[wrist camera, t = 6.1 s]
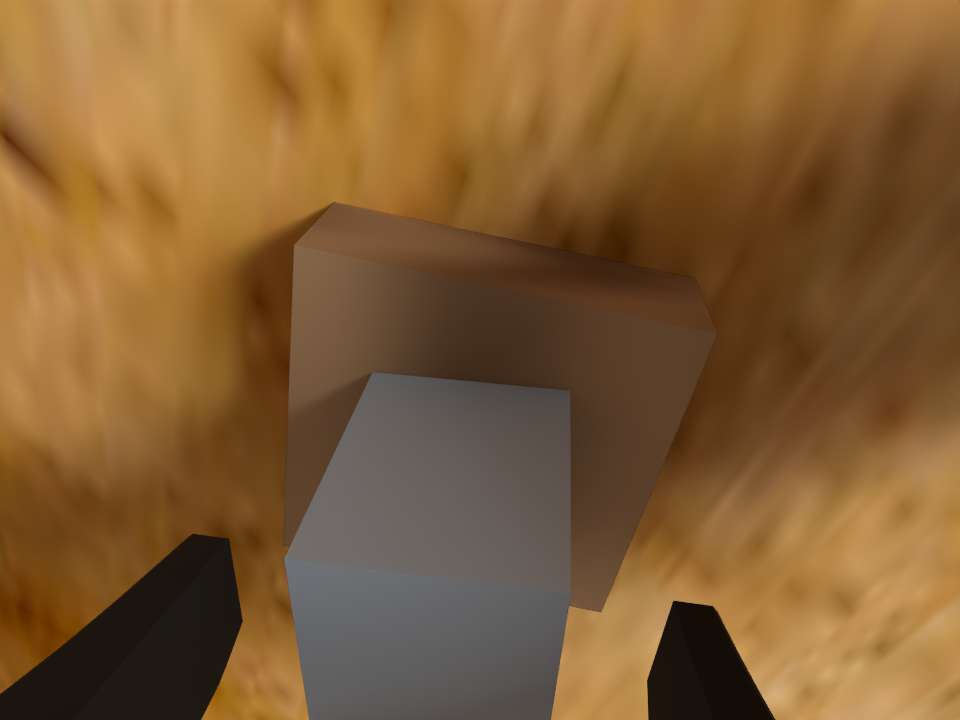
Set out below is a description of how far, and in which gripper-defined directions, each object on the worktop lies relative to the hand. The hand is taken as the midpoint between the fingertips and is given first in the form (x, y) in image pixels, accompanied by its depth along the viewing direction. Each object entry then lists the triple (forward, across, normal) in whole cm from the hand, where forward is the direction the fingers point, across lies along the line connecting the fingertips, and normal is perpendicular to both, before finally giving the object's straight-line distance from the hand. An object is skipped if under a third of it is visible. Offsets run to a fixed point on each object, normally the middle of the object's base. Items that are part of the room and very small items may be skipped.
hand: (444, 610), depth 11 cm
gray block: (+4, 0, 0) cm, 4 cm away
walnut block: (+7, 0, 0) cm, 7 cm away
